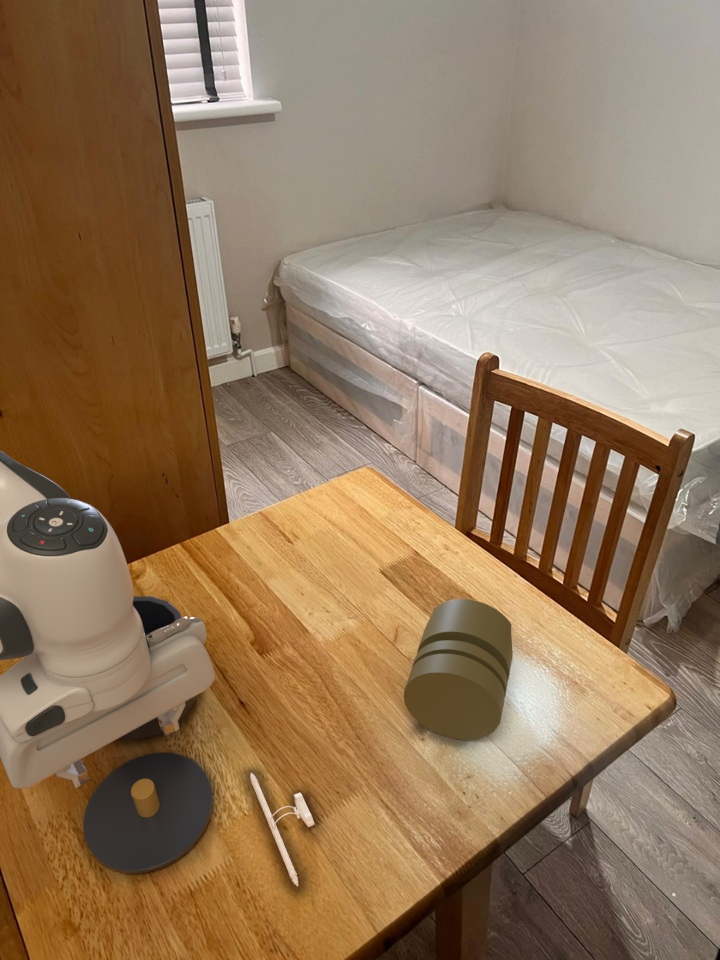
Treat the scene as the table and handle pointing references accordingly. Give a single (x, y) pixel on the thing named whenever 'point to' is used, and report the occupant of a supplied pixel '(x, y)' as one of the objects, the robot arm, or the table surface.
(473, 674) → the piston
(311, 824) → the picture light
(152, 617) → the tin
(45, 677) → the robot arm
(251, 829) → the table surface
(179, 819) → the tin lid
